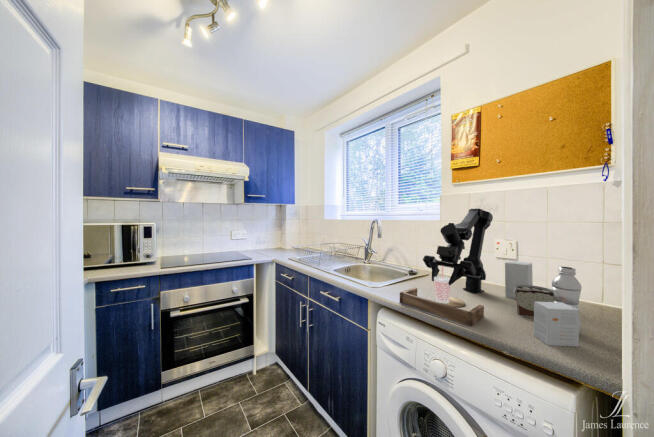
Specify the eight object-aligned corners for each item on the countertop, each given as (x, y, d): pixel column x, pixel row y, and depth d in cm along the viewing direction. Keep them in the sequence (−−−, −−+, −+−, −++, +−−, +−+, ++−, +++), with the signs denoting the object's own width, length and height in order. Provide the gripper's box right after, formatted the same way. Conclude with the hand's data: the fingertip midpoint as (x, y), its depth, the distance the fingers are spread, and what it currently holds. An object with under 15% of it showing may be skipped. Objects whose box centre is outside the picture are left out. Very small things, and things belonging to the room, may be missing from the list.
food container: (546, 313, 89) (547, 286, 88) (556, 320, 83) (557, 291, 82) (507, 308, 93) (507, 282, 92) (513, 315, 87) (514, 287, 87)
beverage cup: (434, 303, 92) (434, 266, 91) (433, 297, 98) (433, 263, 97) (452, 305, 90) (452, 268, 89) (449, 299, 96) (450, 264, 95)
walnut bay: (414, 296, 106) (414, 287, 106) (483, 317, 85) (483, 305, 85) (399, 302, 99) (399, 292, 99) (471, 326, 78) (471, 314, 78)
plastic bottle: (584, 339, 70) (586, 271, 70) (553, 333, 74) (555, 268, 73) (576, 330, 76) (578, 267, 75) (548, 324, 79) (549, 264, 79)
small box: (561, 336, 71) (562, 302, 71) (579, 347, 66) (580, 309, 66) (532, 335, 72) (533, 300, 72) (547, 345, 67) (548, 308, 66)
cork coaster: (444, 296, 106) (444, 295, 106) (469, 302, 98) (469, 301, 98) (433, 301, 100) (433, 300, 100) (459, 309, 92) (459, 307, 92)
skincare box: (533, 299, 102) (534, 263, 102) (527, 302, 99) (528, 265, 98) (509, 294, 109) (510, 260, 109) (503, 296, 106) (504, 261, 105)
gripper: (425, 236, 103) (410, 266, 96) (473, 240, 88) (460, 275, 82) (434, 252, 108) (421, 281, 101) (480, 258, 93) (469, 293, 87)
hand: (440, 282), depth 93 cm, fingers closed on beverage cup, 6 cm apart
